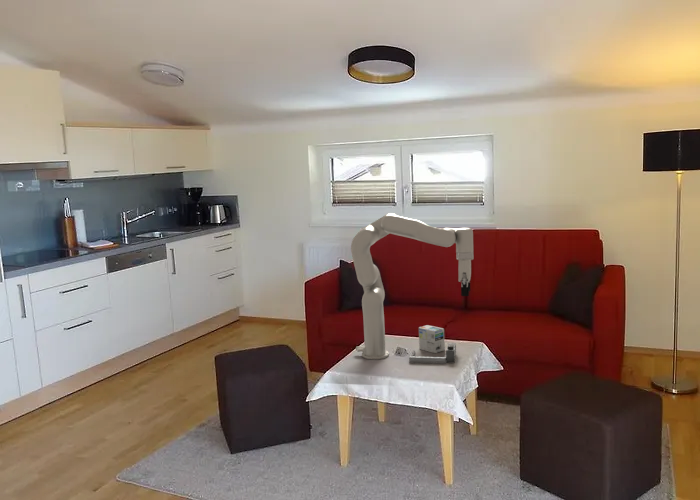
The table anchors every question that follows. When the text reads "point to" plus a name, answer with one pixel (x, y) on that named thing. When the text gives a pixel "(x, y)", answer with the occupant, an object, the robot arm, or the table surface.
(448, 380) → the table surface
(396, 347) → the table surface
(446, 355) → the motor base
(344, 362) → the table surface
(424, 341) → the light bulb box
